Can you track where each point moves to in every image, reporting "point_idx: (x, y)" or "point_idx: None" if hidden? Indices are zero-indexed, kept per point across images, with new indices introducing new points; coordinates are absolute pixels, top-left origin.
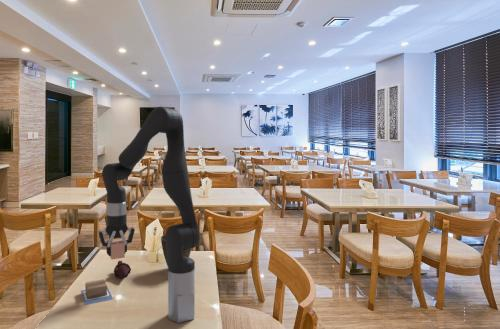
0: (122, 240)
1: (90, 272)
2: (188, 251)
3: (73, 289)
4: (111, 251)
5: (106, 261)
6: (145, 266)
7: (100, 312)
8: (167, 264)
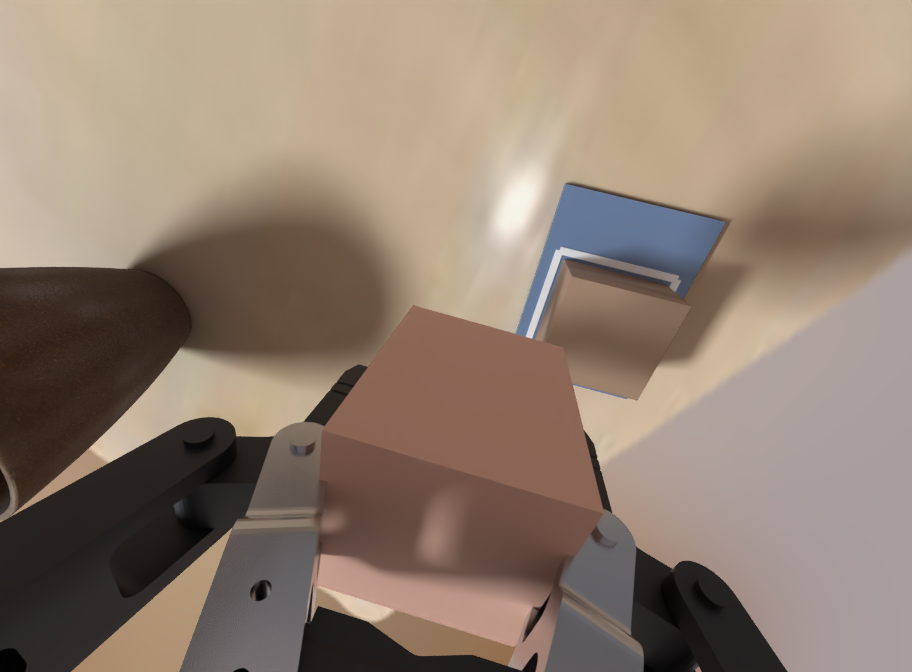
0: (321, 549)
1: None
2: None
3: (635, 435)
4: (578, 410)
5: None
6: None
7: (722, 52)
8: (167, 333)
